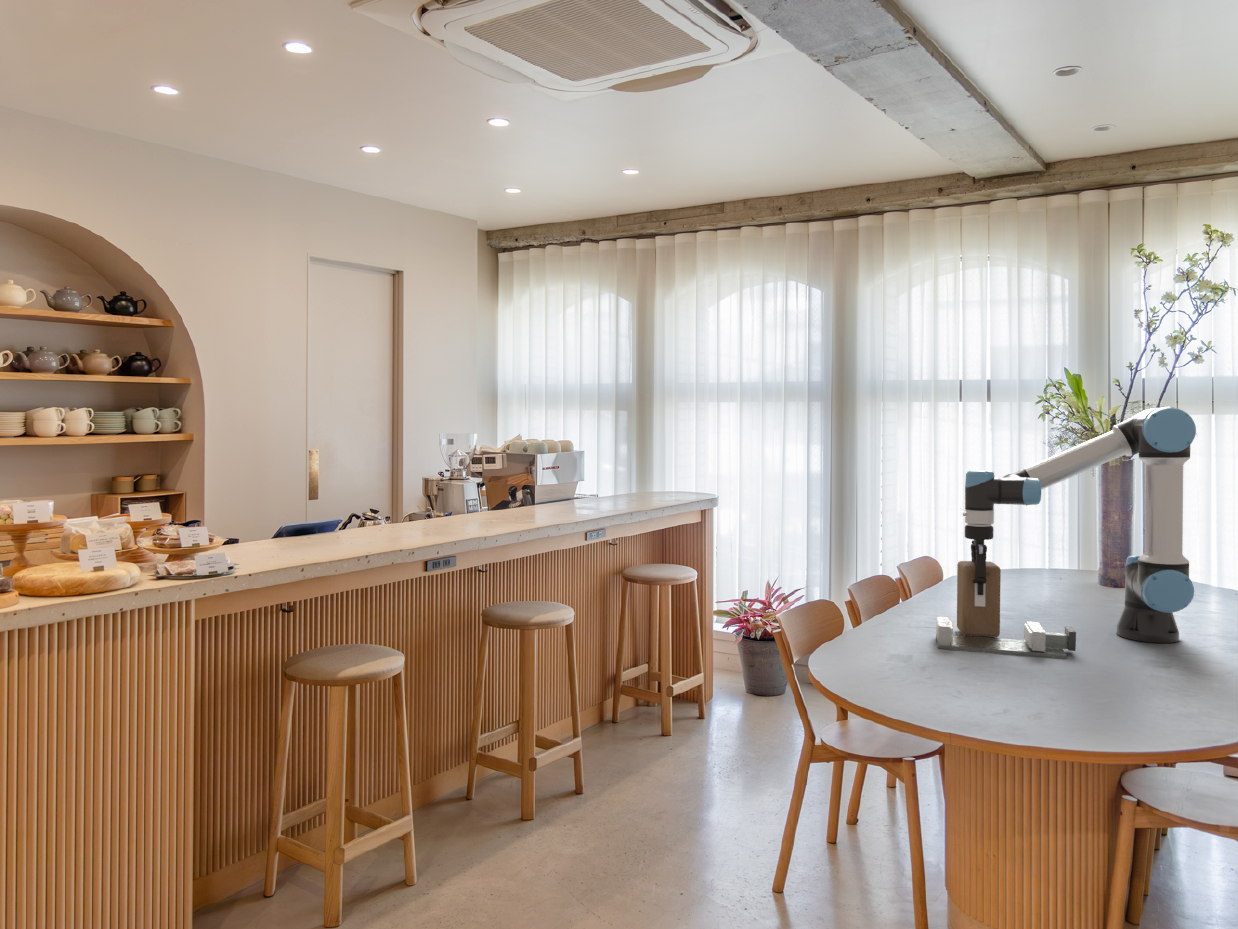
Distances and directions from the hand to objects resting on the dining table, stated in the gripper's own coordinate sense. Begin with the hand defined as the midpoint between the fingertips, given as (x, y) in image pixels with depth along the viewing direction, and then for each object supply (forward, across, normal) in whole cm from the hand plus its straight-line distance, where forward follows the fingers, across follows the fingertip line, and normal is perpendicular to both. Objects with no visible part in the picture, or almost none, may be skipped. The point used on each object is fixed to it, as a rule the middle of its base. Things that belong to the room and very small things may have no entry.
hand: (978, 602), depth 247 cm
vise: (+9, +13, +4) cm, 17 cm away
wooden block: (+9, 0, 0) cm, 9 cm away
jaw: (+8, +13, +17) cm, 23 cm away
